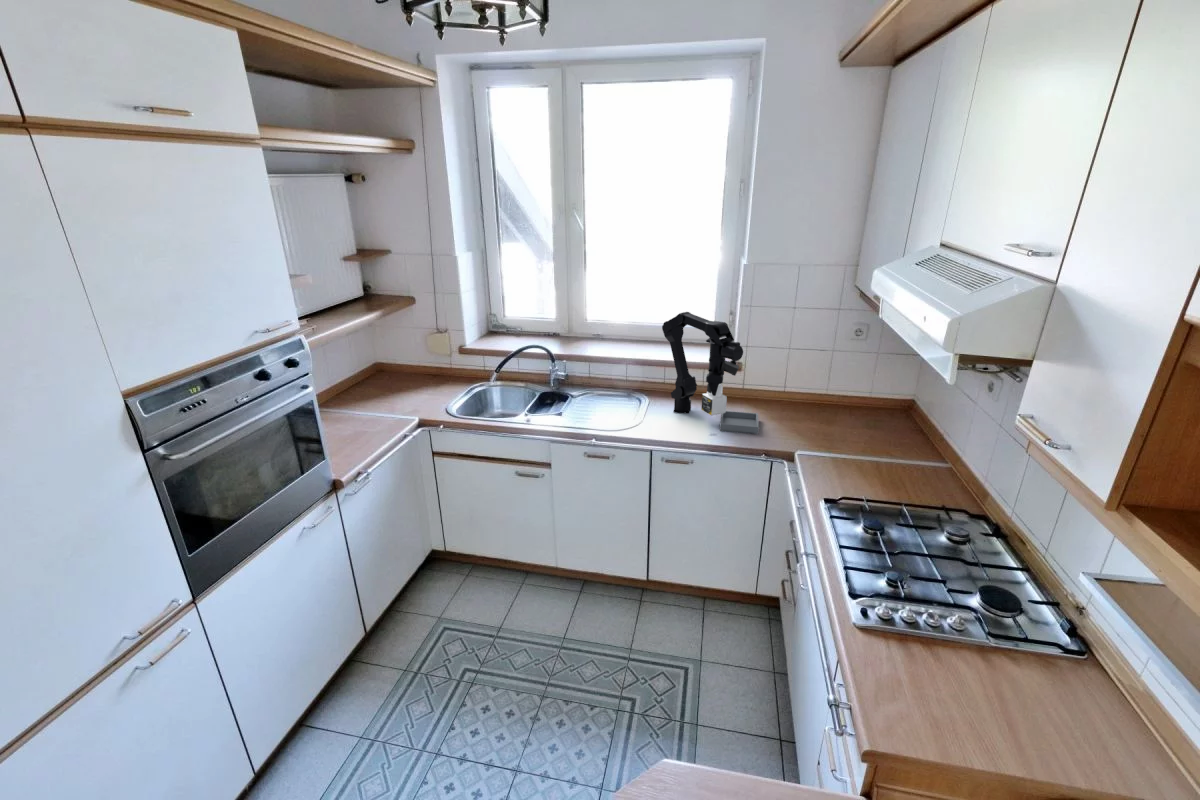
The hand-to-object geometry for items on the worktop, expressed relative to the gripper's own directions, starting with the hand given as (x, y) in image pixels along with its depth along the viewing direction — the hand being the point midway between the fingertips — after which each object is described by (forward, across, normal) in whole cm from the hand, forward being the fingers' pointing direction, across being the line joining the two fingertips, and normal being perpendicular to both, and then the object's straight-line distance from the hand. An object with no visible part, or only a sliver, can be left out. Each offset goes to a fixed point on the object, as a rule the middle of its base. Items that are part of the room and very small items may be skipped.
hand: (714, 392), depth 223 cm
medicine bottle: (+8, 0, 0) cm, 8 cm away
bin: (+13, 0, -10) cm, 17 cm away
